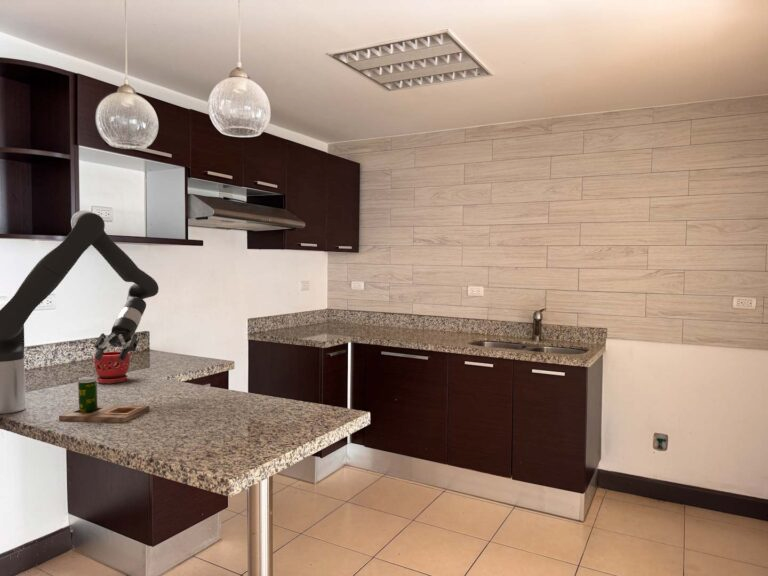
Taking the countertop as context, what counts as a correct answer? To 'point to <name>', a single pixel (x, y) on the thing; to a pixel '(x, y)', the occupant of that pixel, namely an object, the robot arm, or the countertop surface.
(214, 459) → the countertop surface
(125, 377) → the plant pot
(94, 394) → the beer can
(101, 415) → the socket board
